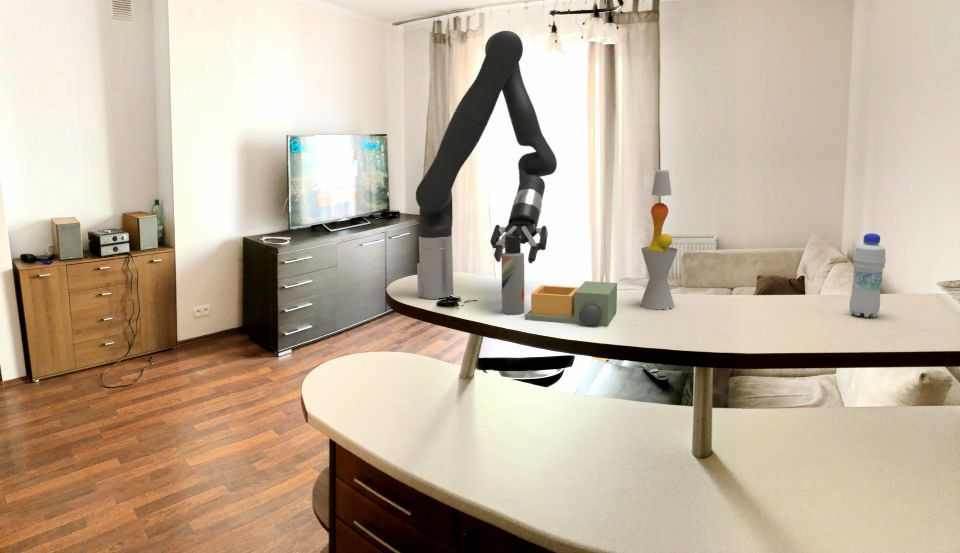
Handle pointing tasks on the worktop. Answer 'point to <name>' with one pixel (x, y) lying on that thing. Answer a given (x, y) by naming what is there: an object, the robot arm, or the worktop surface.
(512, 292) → the lotion bottle
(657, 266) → the lava lamp
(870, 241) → the bottle
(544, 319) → the tray with knob box
